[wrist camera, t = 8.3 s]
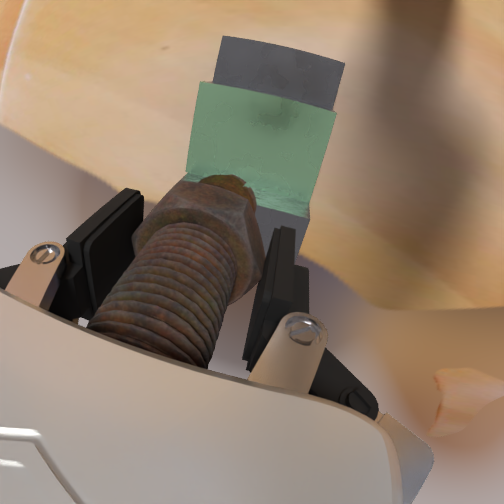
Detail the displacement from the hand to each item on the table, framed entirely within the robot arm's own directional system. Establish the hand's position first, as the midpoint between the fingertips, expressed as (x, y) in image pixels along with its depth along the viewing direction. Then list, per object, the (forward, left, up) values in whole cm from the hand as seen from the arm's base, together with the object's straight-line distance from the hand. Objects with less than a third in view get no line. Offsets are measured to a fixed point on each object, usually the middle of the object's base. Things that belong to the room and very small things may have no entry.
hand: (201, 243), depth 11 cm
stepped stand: (+1, 0, -25) cm, 25 cm away
